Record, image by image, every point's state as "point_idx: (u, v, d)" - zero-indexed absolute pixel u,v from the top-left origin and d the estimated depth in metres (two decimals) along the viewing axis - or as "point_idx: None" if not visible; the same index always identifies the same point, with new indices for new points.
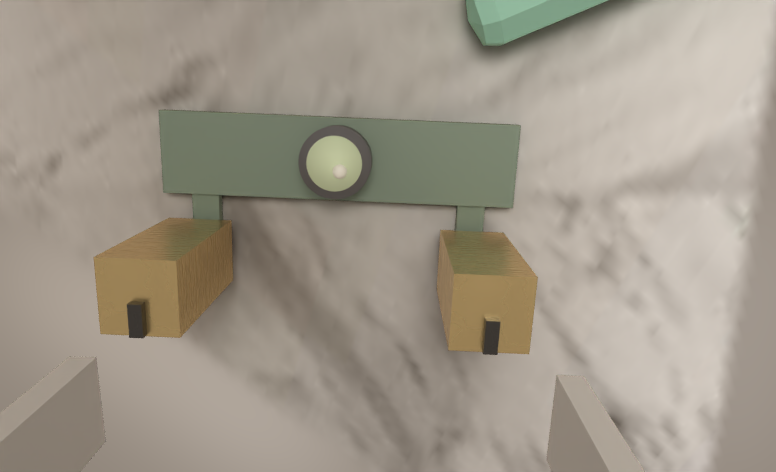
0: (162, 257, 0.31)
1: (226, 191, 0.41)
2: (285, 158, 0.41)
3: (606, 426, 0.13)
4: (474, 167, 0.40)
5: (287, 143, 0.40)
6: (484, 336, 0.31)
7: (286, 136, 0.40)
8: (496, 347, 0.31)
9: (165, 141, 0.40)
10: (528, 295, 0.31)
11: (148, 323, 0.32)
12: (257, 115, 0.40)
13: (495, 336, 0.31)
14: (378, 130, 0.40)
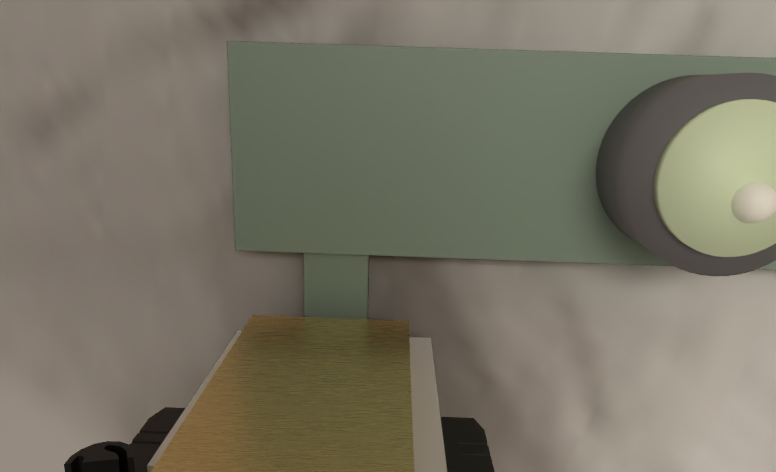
0: None
1: (391, 246, 0.17)
2: (548, 163, 0.16)
3: (427, 375, 0.15)
4: None
5: (557, 125, 0.16)
6: None
7: (557, 107, 0.16)
8: None
9: (243, 123, 0.16)
10: None
11: None
12: (486, 52, 0.15)
13: None
14: None
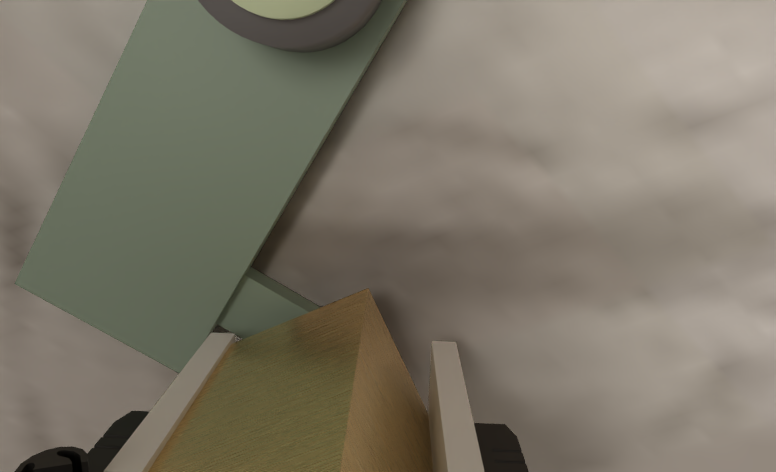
0: None
1: (243, 255, 0.17)
2: (233, 82, 0.16)
3: (456, 380, 0.15)
4: None
5: (203, 57, 0.16)
6: None
7: (186, 49, 0.16)
8: None
9: (83, 309, 0.18)
10: None
11: None
12: (109, 87, 0.16)
13: None
14: None
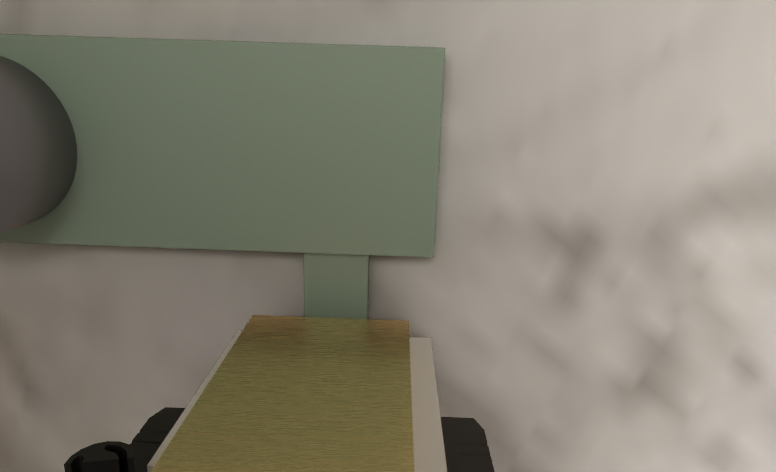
0: None
1: None
2: None
3: (427, 375, 0.15)
4: (331, 158, 0.16)
5: None
6: None
7: None
8: None
9: None
10: None
11: None
12: None
13: None
14: (80, 66, 0.16)
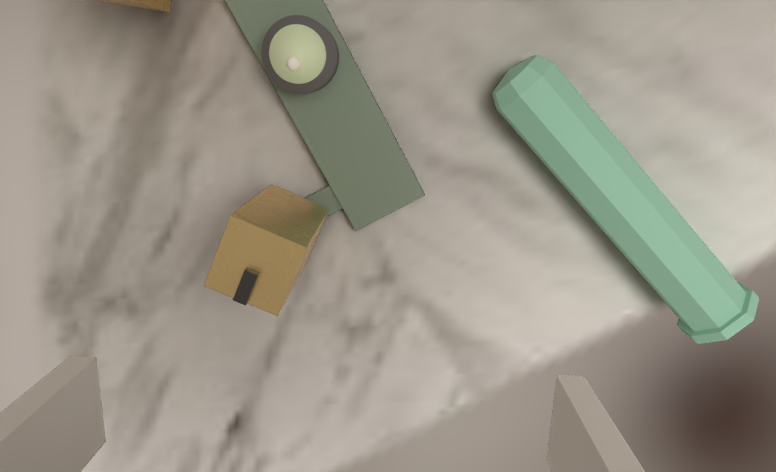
0: None
1: None
2: (275, 5, 0.39)
3: (606, 426, 0.13)
4: (369, 178, 0.42)
5: (289, 0, 0.39)
6: (239, 284, 0.32)
7: None
8: (246, 298, 0.32)
9: None
10: (293, 261, 0.32)
11: None
12: None
13: (248, 287, 0.32)
14: (350, 78, 0.40)
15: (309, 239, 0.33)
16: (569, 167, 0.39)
